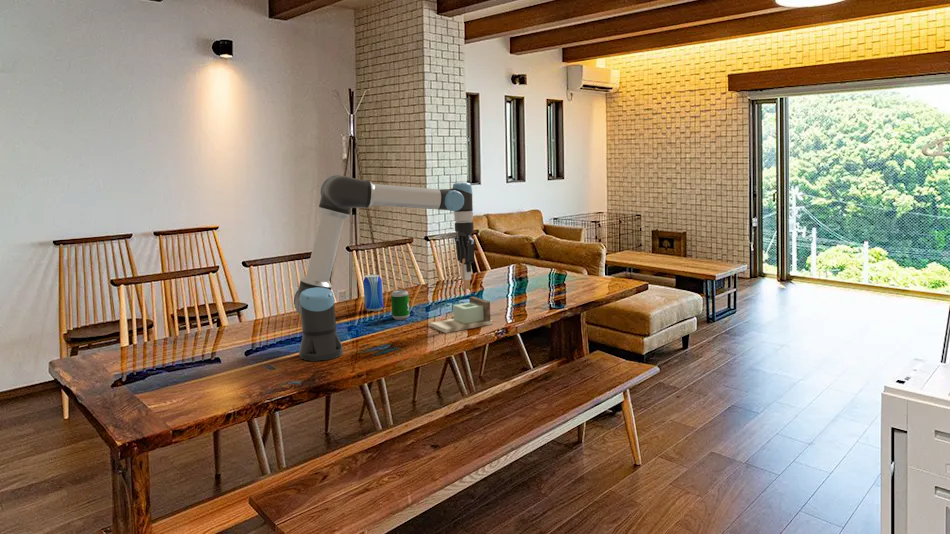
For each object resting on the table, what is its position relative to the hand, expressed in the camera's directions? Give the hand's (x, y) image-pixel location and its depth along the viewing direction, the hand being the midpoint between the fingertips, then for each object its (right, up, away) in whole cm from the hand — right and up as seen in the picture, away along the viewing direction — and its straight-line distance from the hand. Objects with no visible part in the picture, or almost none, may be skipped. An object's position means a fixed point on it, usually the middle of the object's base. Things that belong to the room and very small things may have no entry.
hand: (466, 279), depth 260 cm
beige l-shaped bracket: (-2, -19, +1) cm, 19 cm away
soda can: (-29, -17, +17) cm, 38 cm away
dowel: (0, -4, +1) cm, 4 cm away
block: (+1, -17, +3) cm, 17 cm away
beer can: (-43, -15, +34) cm, 57 cm away
